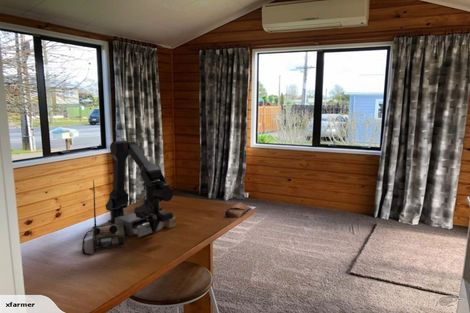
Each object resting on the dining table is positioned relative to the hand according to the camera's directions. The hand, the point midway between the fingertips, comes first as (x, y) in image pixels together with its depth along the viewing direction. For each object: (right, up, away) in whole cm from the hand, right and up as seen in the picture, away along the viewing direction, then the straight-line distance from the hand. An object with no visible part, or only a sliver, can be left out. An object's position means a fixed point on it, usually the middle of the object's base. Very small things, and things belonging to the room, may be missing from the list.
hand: (154, 231), depth 152 cm
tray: (-6, 0, +4) cm, 7 cm away
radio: (-17, -4, -11) cm, 21 cm away
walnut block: (+5, 0, +11) cm, 12 cm away
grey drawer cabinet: (-10, 0, +8) cm, 13 cm away
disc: (-6, +1, +4) cm, 8 cm away
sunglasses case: (+37, +3, +32) cm, 49 cm away
